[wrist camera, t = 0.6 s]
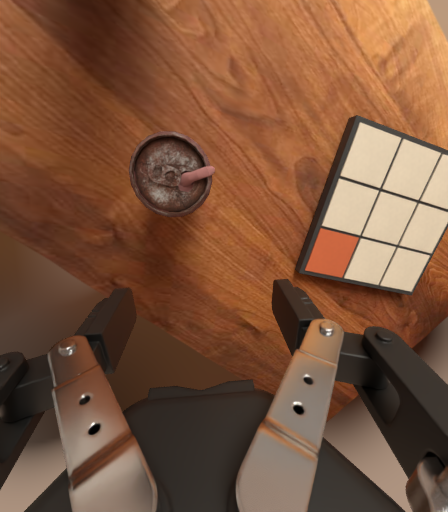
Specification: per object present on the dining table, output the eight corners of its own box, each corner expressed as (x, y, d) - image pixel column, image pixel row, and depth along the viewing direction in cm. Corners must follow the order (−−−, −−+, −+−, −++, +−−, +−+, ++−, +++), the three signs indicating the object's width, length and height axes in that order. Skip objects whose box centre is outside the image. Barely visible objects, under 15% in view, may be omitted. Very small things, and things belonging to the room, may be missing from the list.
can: (210, 193, 30) (227, 201, 17) (166, 209, 30) (148, 230, 17) (194, 145, 28) (199, 114, 15) (146, 162, 28) (109, 145, 15)
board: (349, 118, 30) (358, 114, 28) (469, 164, 35) (483, 163, 33) (294, 269, 36) (299, 273, 34) (403, 291, 41) (412, 296, 39)
